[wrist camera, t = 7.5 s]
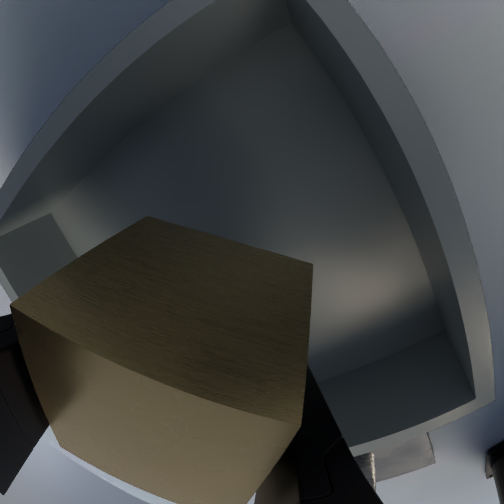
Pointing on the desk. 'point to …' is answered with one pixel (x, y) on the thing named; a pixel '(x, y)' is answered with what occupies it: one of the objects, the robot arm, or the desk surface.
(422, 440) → the metal ball pedestal
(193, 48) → the bin
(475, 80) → the desk surface
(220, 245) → the wooden block
